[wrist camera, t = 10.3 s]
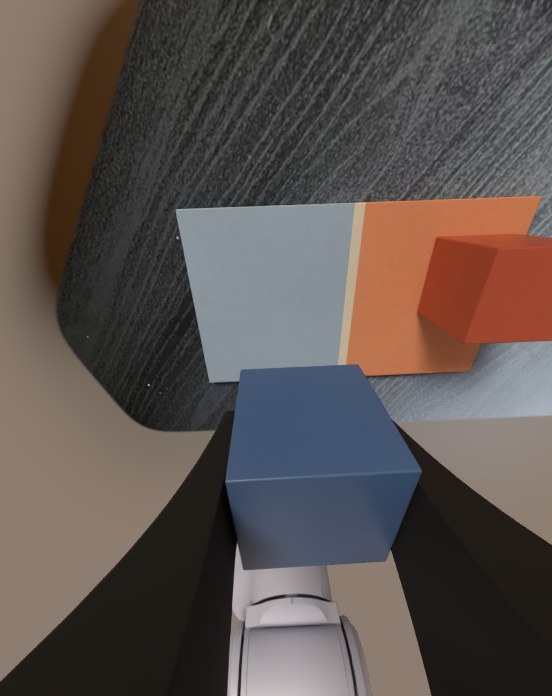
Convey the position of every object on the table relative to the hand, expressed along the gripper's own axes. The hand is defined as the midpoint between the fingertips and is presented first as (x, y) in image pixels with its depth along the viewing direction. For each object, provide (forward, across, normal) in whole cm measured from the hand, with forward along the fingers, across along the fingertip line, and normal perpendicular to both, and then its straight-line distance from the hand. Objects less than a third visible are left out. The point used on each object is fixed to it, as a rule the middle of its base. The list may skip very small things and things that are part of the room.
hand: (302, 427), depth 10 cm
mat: (+8, -4, -2) cm, 9 cm away
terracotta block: (+8, -10, -4) cm, 14 cm away
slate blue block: (+1, 0, 0) cm, 1 cm away
